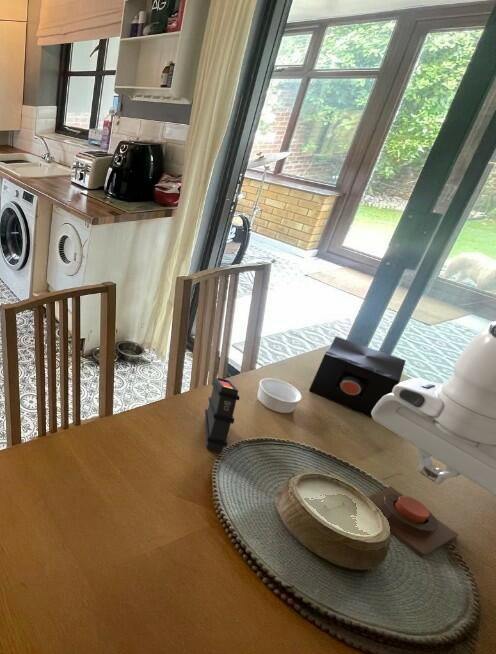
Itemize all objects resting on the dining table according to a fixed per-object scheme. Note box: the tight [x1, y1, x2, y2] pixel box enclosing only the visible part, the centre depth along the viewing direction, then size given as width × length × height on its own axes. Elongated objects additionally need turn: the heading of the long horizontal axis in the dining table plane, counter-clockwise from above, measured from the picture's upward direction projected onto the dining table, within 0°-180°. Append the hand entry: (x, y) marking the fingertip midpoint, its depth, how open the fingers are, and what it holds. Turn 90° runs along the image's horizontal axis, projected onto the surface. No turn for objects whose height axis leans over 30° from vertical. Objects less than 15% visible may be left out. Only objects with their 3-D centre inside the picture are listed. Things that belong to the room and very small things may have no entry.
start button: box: [395, 495, 430, 523], centre depth 73 cm, size 4×4×2 cm
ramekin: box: [257, 377, 303, 414], centre depth 103 cm, size 9×9×4 cm
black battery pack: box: [204, 376, 240, 454], centre depth 93 cm, size 4×13×15 cm, turn 155°
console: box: [308, 336, 407, 419], centre depth 105 cm, size 12×14×12 cm
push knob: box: [340, 376, 363, 395], centre depth 100 cm, size 3×4×4 cm
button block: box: [367, 486, 459, 559], centre depth 74 cm, size 10×10×4 cm
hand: (429, 476), depth 70 cm, fingers closed
